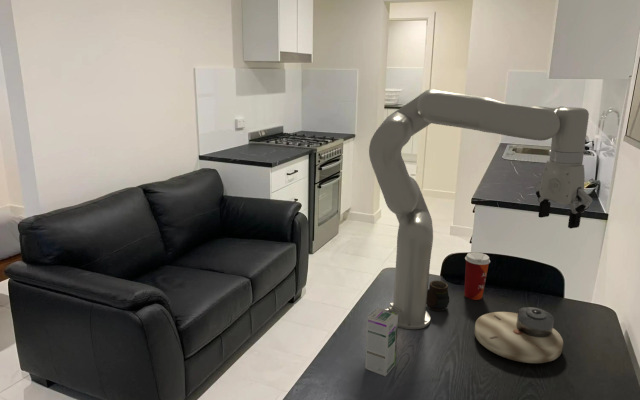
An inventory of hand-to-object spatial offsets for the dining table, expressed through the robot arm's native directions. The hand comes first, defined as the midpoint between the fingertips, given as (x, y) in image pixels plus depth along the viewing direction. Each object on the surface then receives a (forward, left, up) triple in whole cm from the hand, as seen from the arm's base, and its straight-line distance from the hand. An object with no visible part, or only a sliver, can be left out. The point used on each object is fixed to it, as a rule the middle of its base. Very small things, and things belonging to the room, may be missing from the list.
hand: (558, 221), depth 125 cm
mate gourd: (-18, +23, -34) cm, 45 cm away
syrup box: (-49, +2, -34) cm, 60 cm away
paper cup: (-2, +26, -34) cm, 42 cm away
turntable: (-9, -1, -32) cm, 33 cm away
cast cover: (-4, -1, -30) cm, 30 cm away
